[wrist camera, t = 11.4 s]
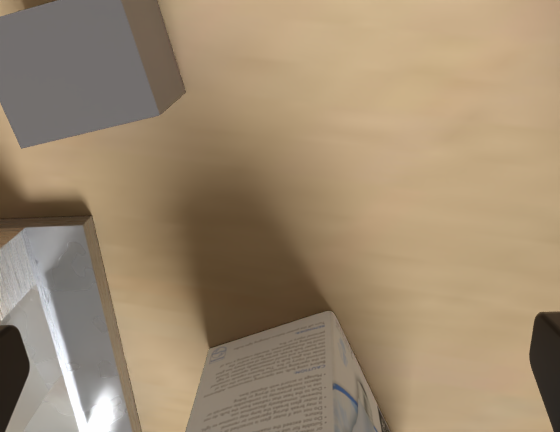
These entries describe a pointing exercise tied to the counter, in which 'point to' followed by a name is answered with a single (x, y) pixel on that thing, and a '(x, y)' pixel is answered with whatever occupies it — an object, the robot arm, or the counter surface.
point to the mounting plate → (66, 323)
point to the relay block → (84, 67)
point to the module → (28, 400)
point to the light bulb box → (286, 383)
